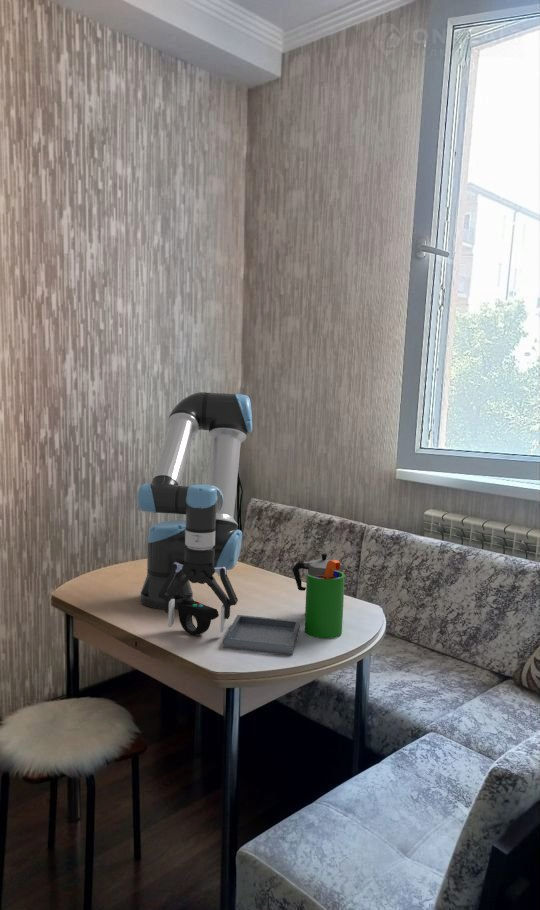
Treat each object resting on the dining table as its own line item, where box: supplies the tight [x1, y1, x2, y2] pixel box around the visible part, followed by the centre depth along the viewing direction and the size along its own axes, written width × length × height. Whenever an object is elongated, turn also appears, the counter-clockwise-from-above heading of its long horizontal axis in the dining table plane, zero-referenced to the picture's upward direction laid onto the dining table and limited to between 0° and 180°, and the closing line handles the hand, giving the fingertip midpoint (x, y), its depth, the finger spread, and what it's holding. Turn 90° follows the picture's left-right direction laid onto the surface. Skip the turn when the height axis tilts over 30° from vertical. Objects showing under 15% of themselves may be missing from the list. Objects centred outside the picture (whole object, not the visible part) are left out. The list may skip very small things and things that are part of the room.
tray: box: [223, 614, 301, 656], centre depth 176 cm, size 17×17×2 cm
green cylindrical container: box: [304, 559, 346, 639], centre depth 181 cm, size 10×9×20 cm
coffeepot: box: [292, 553, 347, 592], centre depth 194 cm, size 15×9×18 cm, turn 101°
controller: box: [177, 593, 220, 636], centre depth 176 cm, size 4×12×10 cm, turn 52°
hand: (196, 627), depth 176 cm, fingers open, 13 cm apart
